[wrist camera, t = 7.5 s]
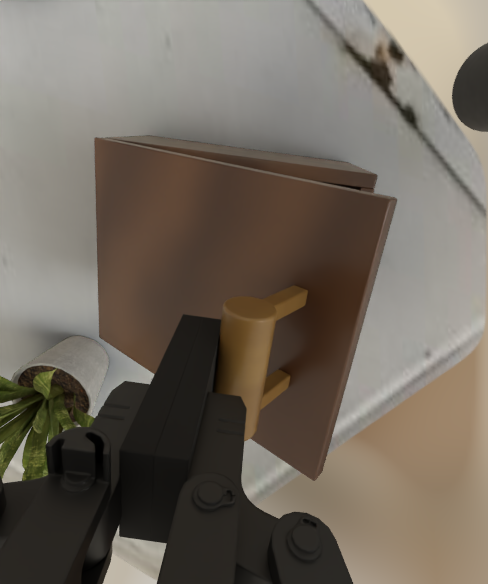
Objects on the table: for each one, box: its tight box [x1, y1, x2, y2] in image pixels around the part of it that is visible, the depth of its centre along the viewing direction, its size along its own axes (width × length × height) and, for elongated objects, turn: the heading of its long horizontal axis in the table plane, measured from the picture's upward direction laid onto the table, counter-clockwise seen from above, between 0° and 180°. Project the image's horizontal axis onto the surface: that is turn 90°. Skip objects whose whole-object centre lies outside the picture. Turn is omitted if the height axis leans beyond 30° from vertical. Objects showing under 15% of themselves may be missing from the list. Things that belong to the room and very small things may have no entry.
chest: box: [108, 135, 377, 193], centre depth 28 cm, size 16×13×9 cm
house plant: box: [0, 336, 109, 481], centre depth 31 cm, size 14×14×16 cm
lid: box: [95, 137, 397, 481], centre depth 18 cm, size 16×13×5 cm
